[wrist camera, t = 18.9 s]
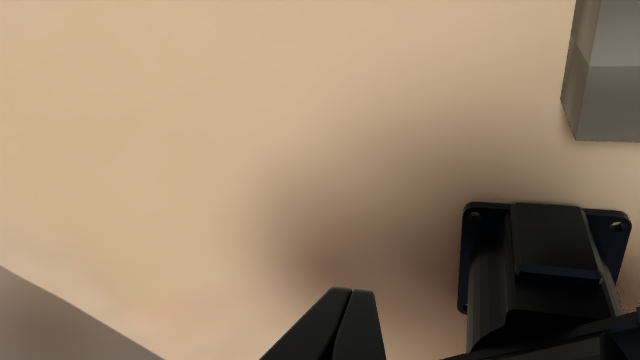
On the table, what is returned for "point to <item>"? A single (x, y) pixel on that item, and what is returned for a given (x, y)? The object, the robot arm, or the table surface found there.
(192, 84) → the table surface
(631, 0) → the hitch block
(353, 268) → the table surface
